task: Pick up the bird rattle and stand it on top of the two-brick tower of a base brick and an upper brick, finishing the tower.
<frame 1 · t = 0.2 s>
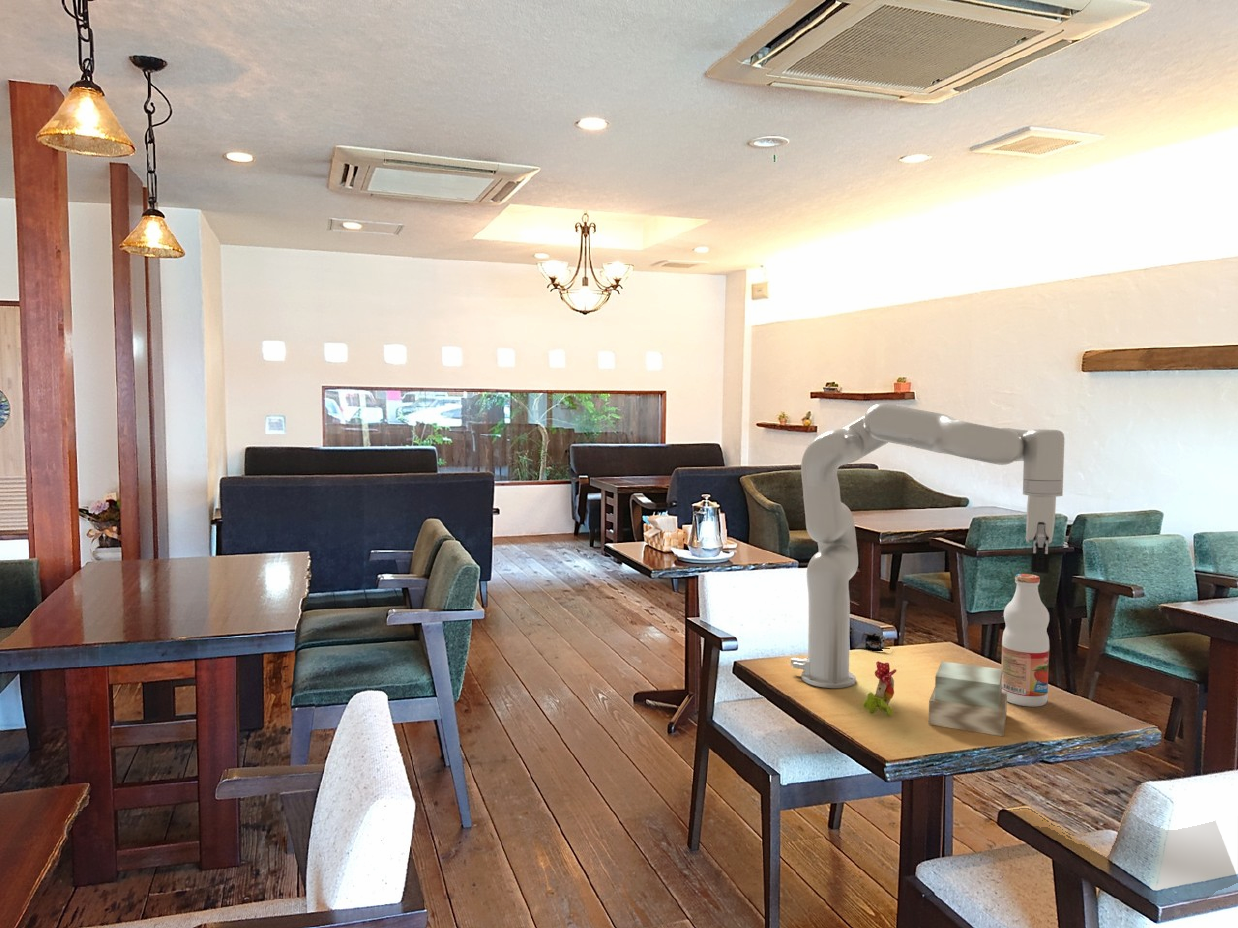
hand: (1040, 568, 178), 31 cm above the table, tool pointing down, fingers open, 9 cm apart
build plate: (874, 651, 227), on the table
fruit juice: (1023, 700, 187), on the table
bird rattle: (881, 711, 181), on the table
brick tower: (968, 719, 175), on the table
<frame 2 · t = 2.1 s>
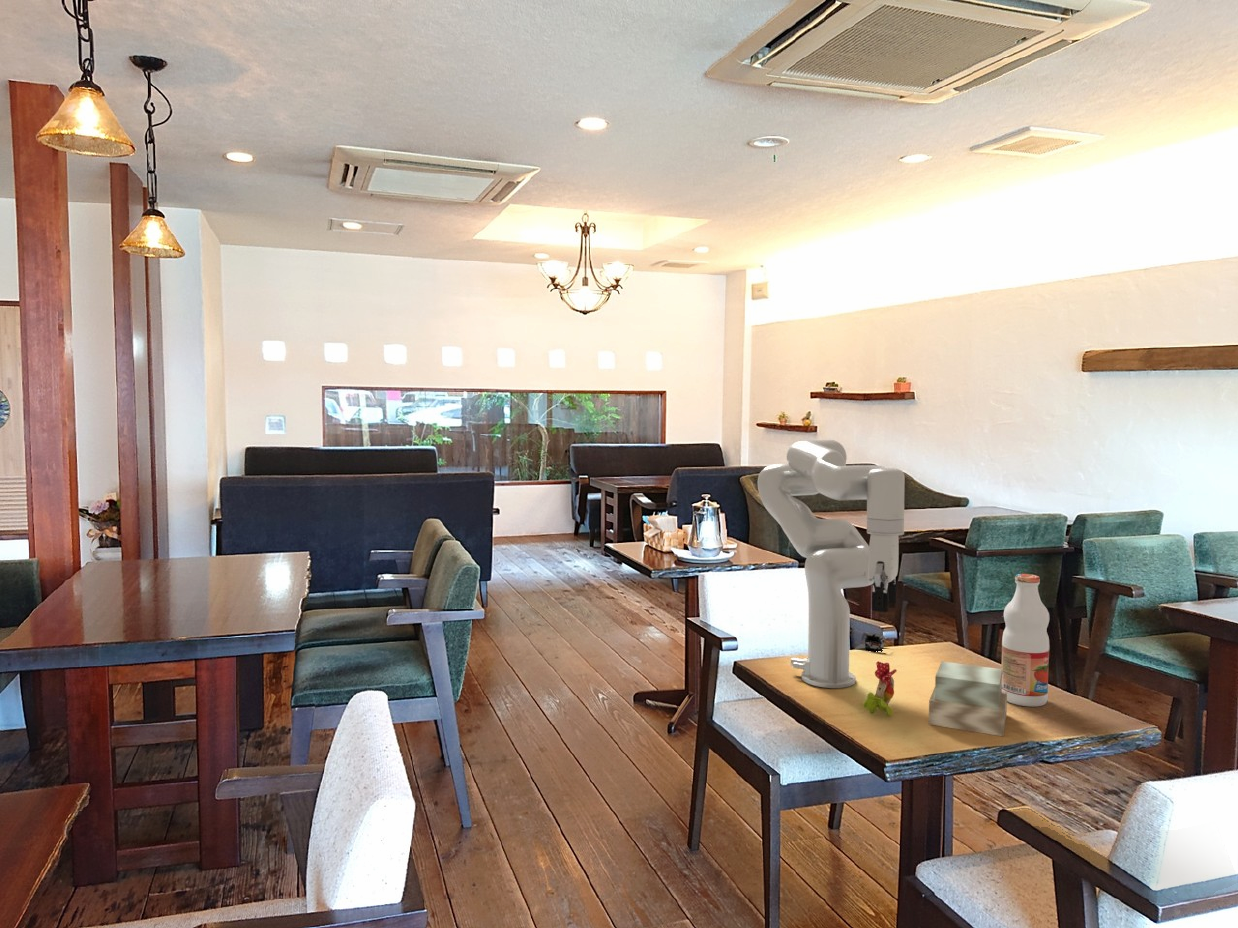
hand: (884, 606, 179), 23 cm above the table, tool pointing down, fingers open, 9 cm apart
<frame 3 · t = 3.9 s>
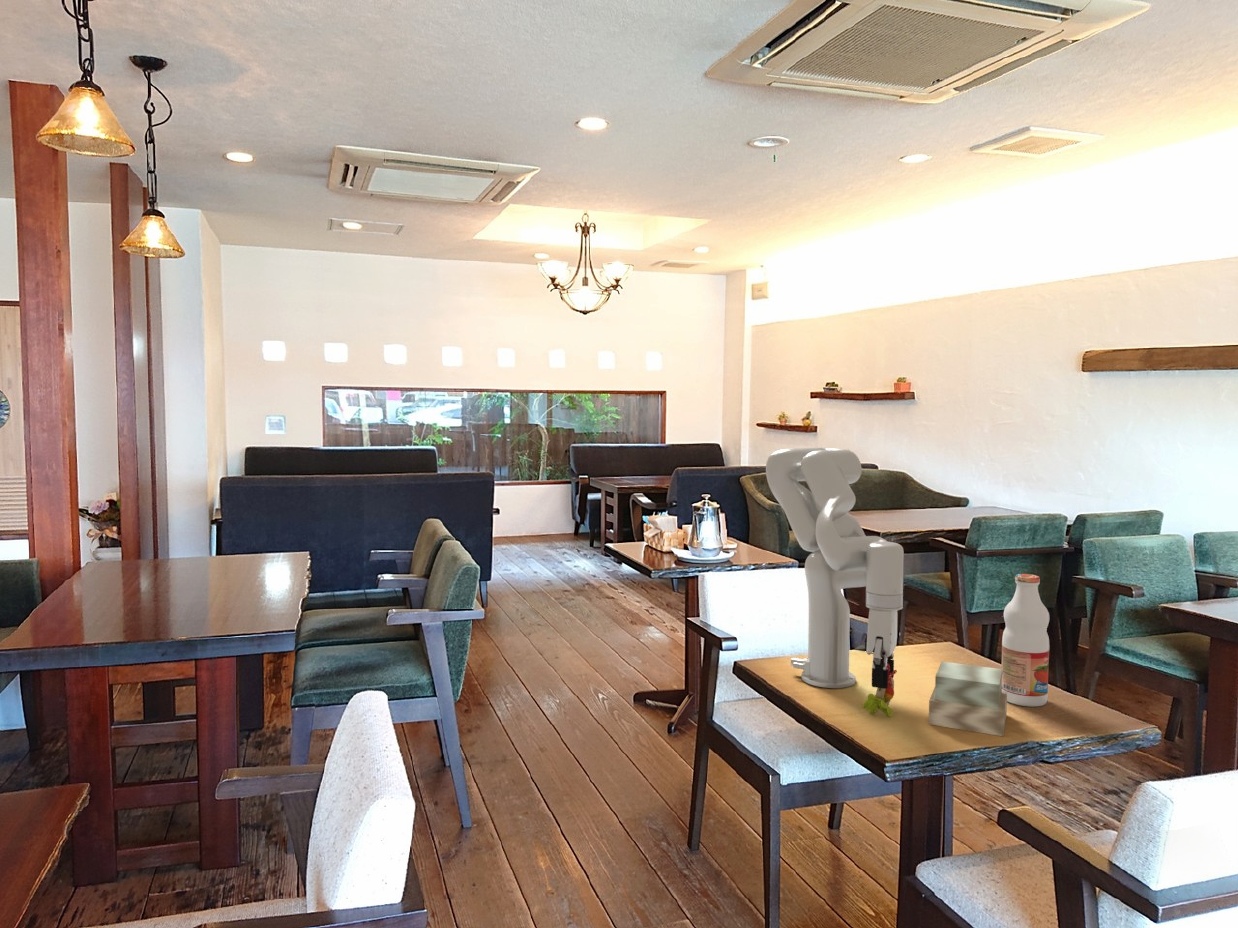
hand: (882, 681, 180), 6 cm above the table, tool pointing down, fingers closed on bird rattle, 6 cm apart
bird rattle: (881, 712, 180), on the table, touching gripper
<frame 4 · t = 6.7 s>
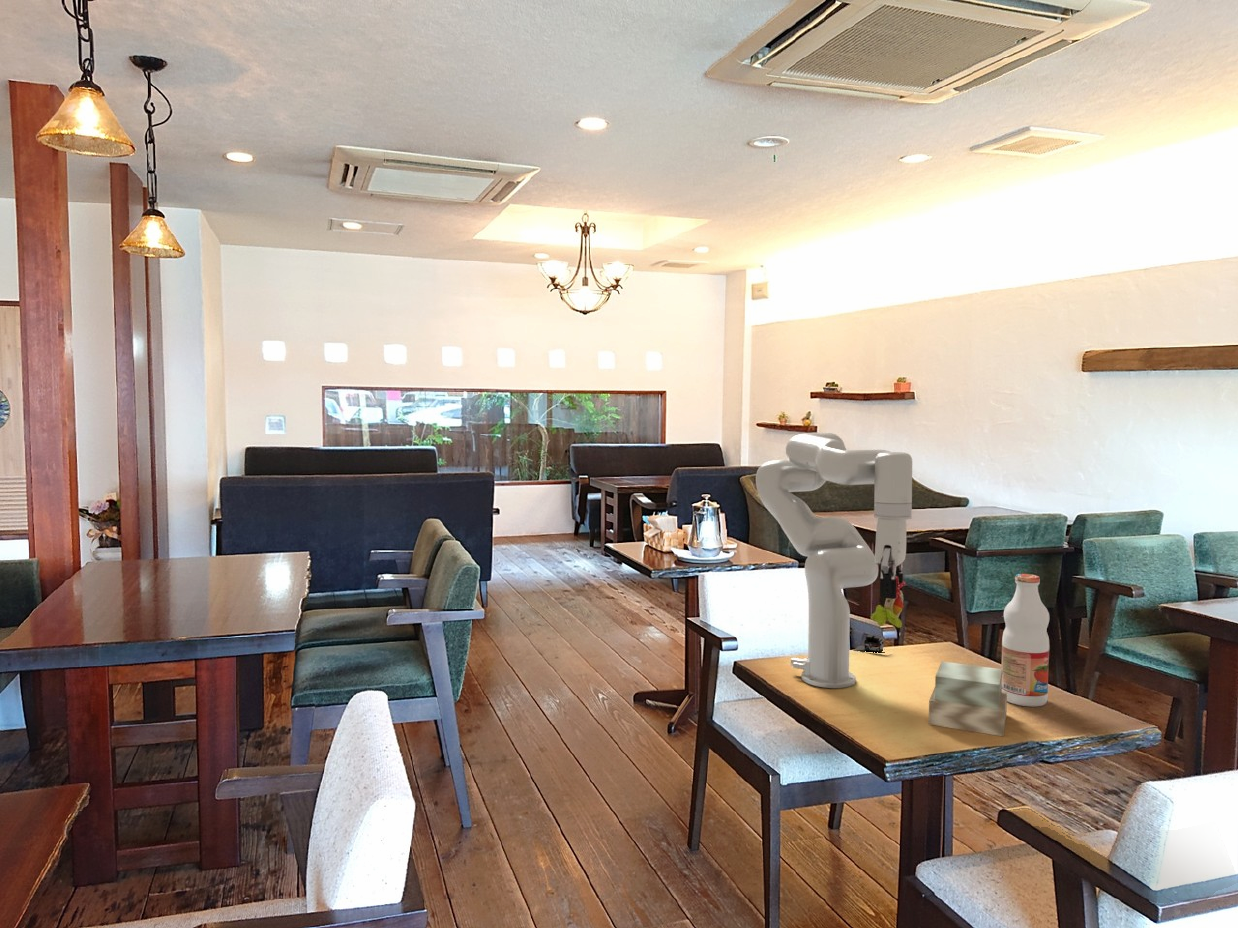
hand: (891, 593, 178), 26 cm above the table, tool pointing down, fingers closed on bird rattle, 6 cm apart
bird rattle: (890, 625, 178), point 19 cm above the table, touching gripper
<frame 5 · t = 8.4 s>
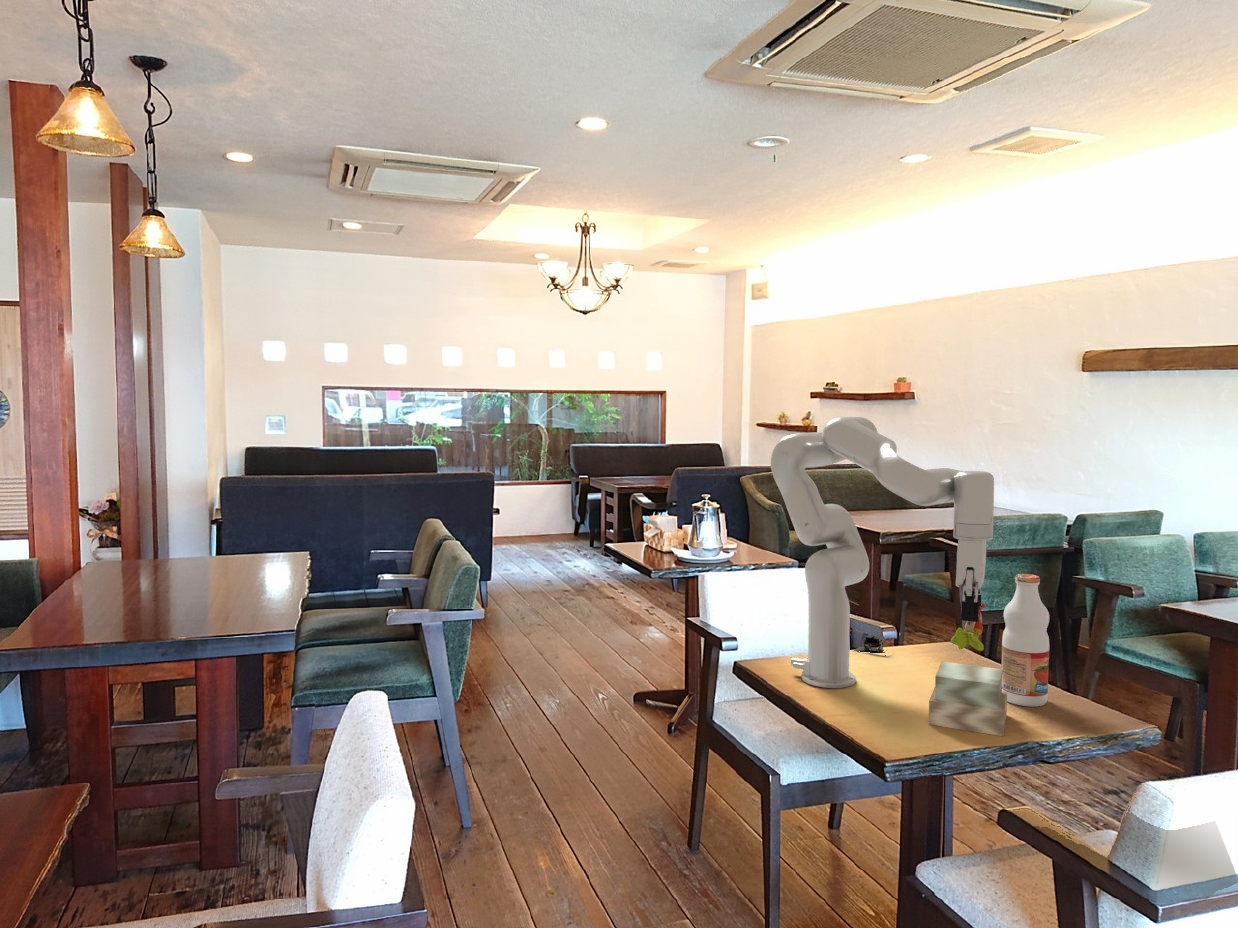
hand: (971, 616, 174), 22 cm above the table, tool pointing down, fingers closed on bird rattle, 6 cm apart
bird rattle: (970, 648, 174), point 15 cm above the table, touching gripper
when the fingers open (17 cm above the table, at t = 9.6 s): bird rattle stays where it is, resting on brick tower.
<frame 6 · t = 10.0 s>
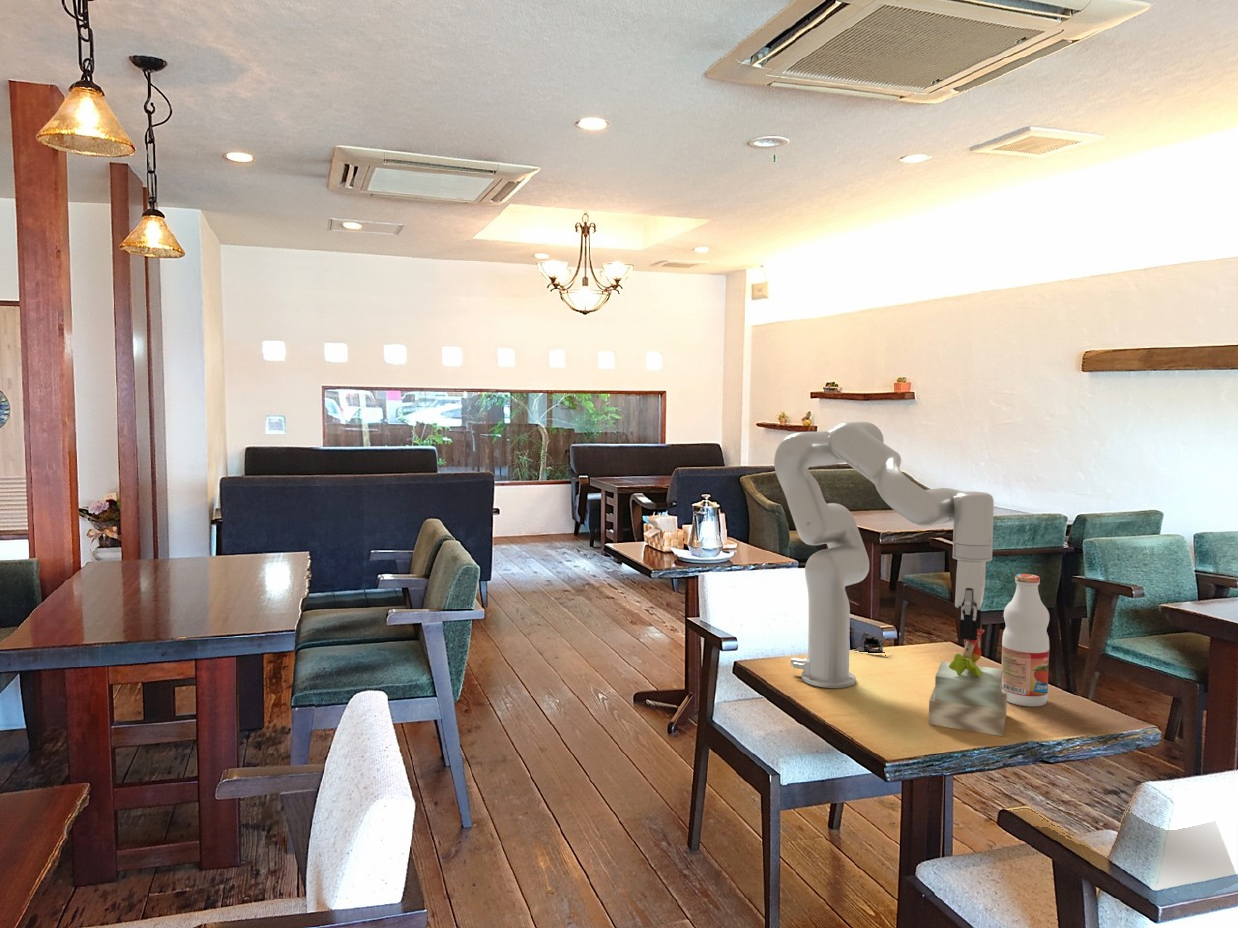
hand: (970, 633, 174), 18 cm above the table, tool pointing down, fingers open, 9 cm apart
bird rattle: (968, 673, 175), point 10 cm above the table, touching brick tower
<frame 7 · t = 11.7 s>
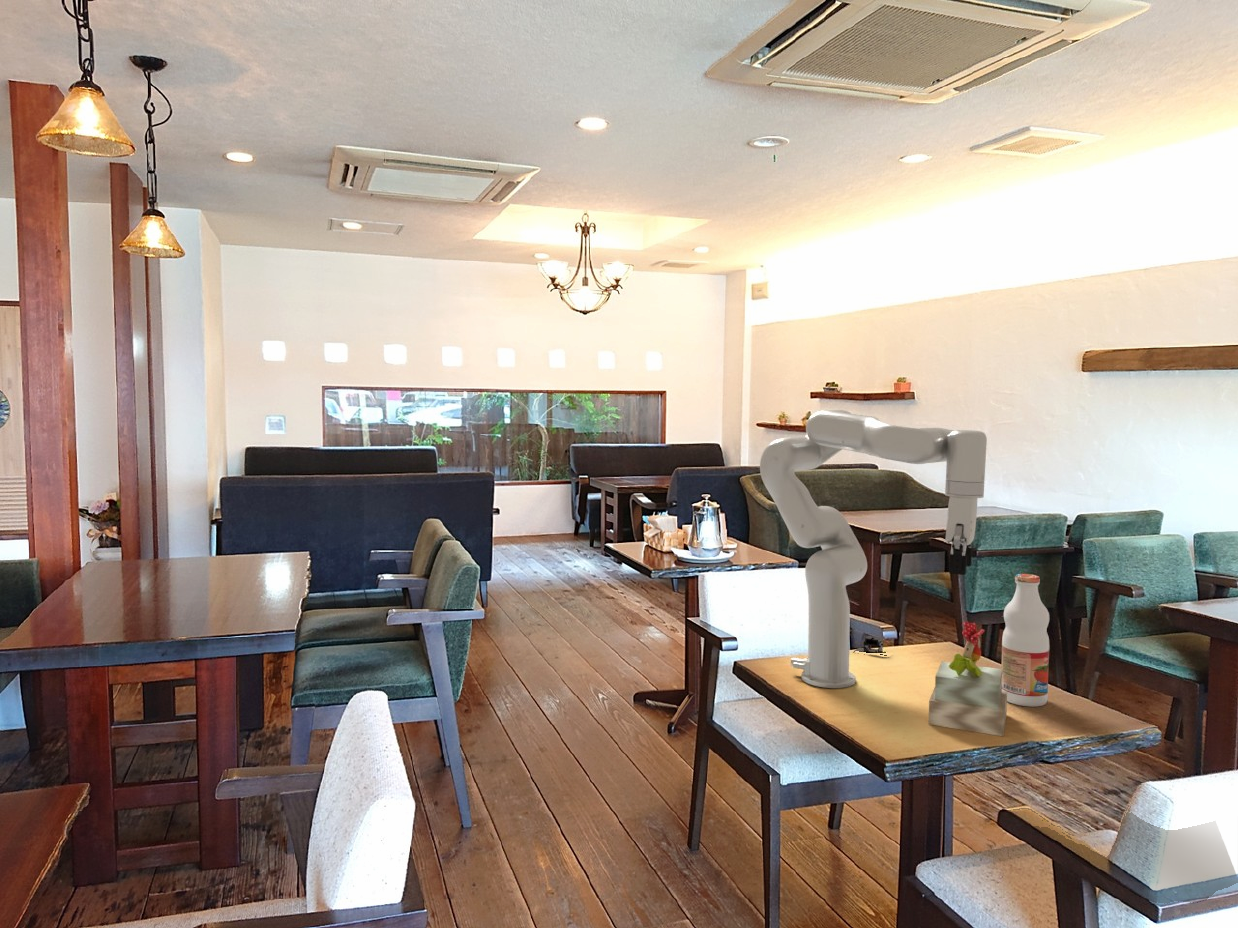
hand: (960, 569, 177), 31 cm above the table, tool pointing down, fingers open, 9 cm apart
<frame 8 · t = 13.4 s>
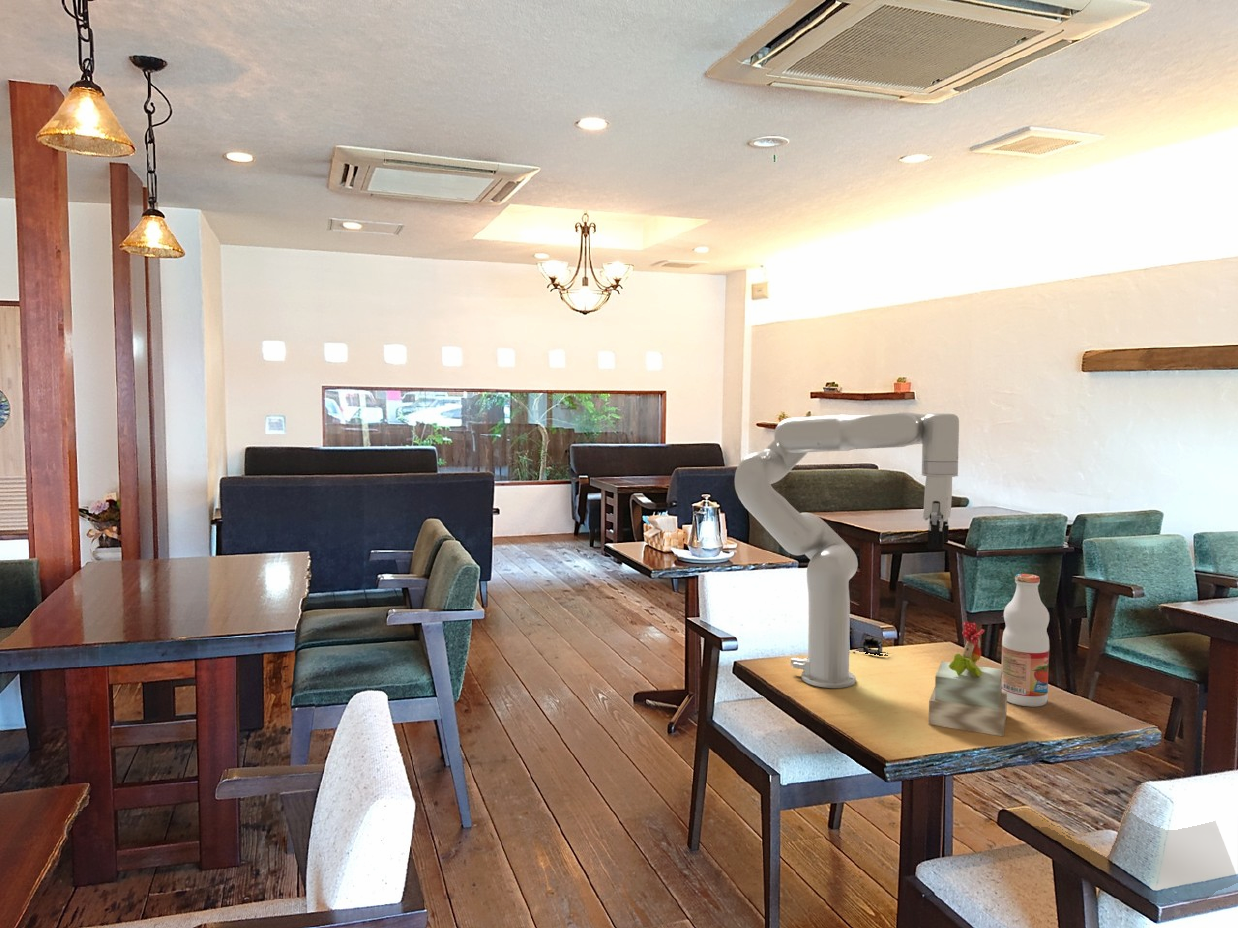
hand: (938, 545, 187), 34 cm above the table, tool pointing down, fingers open, 9 cm apart
at the end: bird rattle inside the target area on the brick tower (0.3 cm from its centre), point 9.8 cm above the brick tower's base; bird rattle tilted 0°; the gripper is holding nothing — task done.
